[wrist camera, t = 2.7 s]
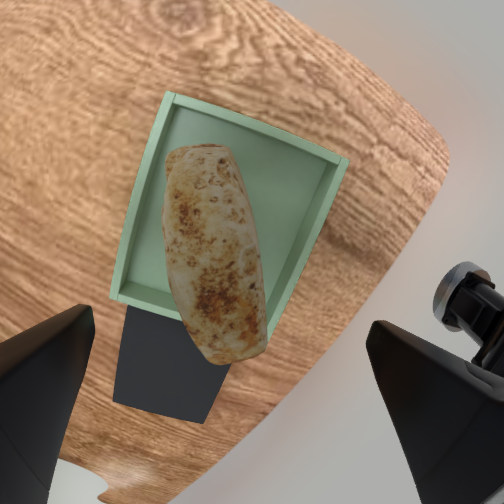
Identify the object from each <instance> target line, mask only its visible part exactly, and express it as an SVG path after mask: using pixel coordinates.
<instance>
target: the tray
mask: <svg viewBox="0 0 504 504" xmlns="http://www.w3.org/2000/svg"><path fill="white" fill-rule="evenodd" d="M208 143H213V144H222V145H225V146H227V147H229V148H230V150H231V151H232V153H233V156H234V158H235V160H236V162H237V164H238V166H239V169H240V173H241V176H242V178H243V181H244V184H245V187H246V190H247V193H248V197H249V200H250V204H251V208H252V212H253V216H254V221H255V226H256V231H257V236H258V243H259V249H260V258H261V264H262V270H263V281H264V292H265V300H266V301H265V303H266V319H267V340H268V341H269V339H270V337H271V335H272V333H273V331H274V329H275V327H276V325H277V323H278V321H279V319H280V317H281V315H282V313H283V311H284V309H285V307H286V305H287V302H288V300H289V298H290V296H291V294H292V292H293V290H294V288H295V286H296V284H297V281H298V279H299V277H300V275H301V273H302V271H303V268H304V266H305V264H306V262H307V260H308V258H309V255H310V253H311V251H312V249H313V246H314V244H315V242H316V240H317V237H318V235H319V233H320V231H321V228H322V226H323V224H324V222H325V219H326V217H327V215H328V212H329V210H330V208H331V205H332V203H333V201H334V198H335V196H336V194H337V191H338V189H339V186H340V184H341V182H342V179H343V177H344V174H345V172H346V169H347V167H348V165H349V162H350V160H349V159H347V158H345V157H342V156H340V155H338V154H336V153H334V152H332V151H330V150H328V149H325V148H323V147H321V146H319V145H316V144H314V143H312V142H310V141H307V140H305V139H303V138H300V137H298V136H296V135H293V134H291V133H289V132H286V131H284V130H281V129H279V128H276V127H274V126H271V125H269V124H266V123H264V122H261V121H258V120H256V119H253V118H250V117H248V116H245V115H242V114H239V113H237V112H234V111H231V110H228V109H225V108H222V107H219V106H216V105H213V104H210V103H207V102H204V101H201V100H197V99H194V98H191V97H188V96H184V95H181V94H176V93H174V92H171V91H166V92H165V95H164V97H163V100H162V102H161V105H160V108H159V110H158V113H157V116H156V119H155V121H154V124H153V127H152V130H151V133H150V136H149V139H148V142H147V145H146V148H145V151H144V154H143V157H142V161H141V164H140V167H139V170H138V174H137V177H136V181H135V184H134V188H133V191H132V195H131V199H130V202H129V206H128V210H127V214H126V218H125V222H124V226H123V230H122V235H121V239H120V243H119V248H118V253H117V257H116V262H115V267H114V272H113V278H112V283H111V289H110V294H109V298H110V299H113V300H116V301H119V302H122V303H125V304H128V305H131V306H134V307H137V308H140V309H144V310H147V311H150V312H153V313H157V314H160V315H163V316H167V317H170V318H174V319H177V320H180V321H182V319H181V316H180V314H179V311H178V309H177V306H176V304H175V302H174V299H173V296H172V293H171V290H170V287H169V284H168V277H167V268H166V255H165V245H164V240H163V234H162V224H161V208H162V206H163V204H164V193H165V189H166V186H167V180H166V175H165V159H166V155H167V154H168V153H169V152H171V151H173V150H175V149H177V148H180V147H183V146H188V145H196V144H208Z"/></svg>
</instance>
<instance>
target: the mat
mask: <svg viewBox="0 0 504 504" xmlns="http://www.w3.org/2000/svg"><path fill="white" fill-rule="evenodd" d="M231 364H232V363H231ZM231 364H224V365H216V364H213V363H210V362H209V361H208V360H207V359H206V358H205V357H204V355H203V354H202V353H201V351H200V350H199V349H198V348H197V346H196V345H195V343H194V341H193V340H192V338H191V336H190V334H189V333H188V331H187V329H186V327H185V325H184V323H183V321H180V320H177V319H174V318H170V317H167V316H163V315H160V314H157V313H153V312H150V311H147V310H144V309H140V308H137V307H134V306H131V305H128V307H127V312H126V317H125V322H124V328H123V333H122V339H121V345H120V351H119V357H118V364H117V371H116V378H115V386H114V394H113V402H116V403H119V404H123V405H126V406H129V407H133V408H136V409H140V410H144V411H147V412H151V413H155V414H159V415H163V416H167V417H172V418H176V419H181V420H185V421H190V422H195V423H200V424H204V421H205V419H206V417H207V415H208V413H209V411H210V409H211V407H212V404H213V402H214V400H215V398H216V396H217V394H218V392H219V390H220V387H221V385H222V383H223V381H224V379H225V377H226V374H227V372H228V370H229V368H230V366H231Z"/></svg>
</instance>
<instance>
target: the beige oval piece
mask: <svg viewBox="0 0 504 504" xmlns="http://www.w3.org/2000/svg"><path fill="white" fill-rule="evenodd" d="M165 175H166V180H167V186H166V189H165V193H164V204H163V206H162V208H161V224H162V234H163V240H164V245H165V255H166V268H167V277H168V284H169V287H170V290H171V293H172V296H173V299H174V302H175V304H176V306H177V309H178V311H179V314H180V316H181V319H182V321H183V323H184V325H185V327H186V329H187V331H188V333H189V334H190V336H191V338H192V340H193V341H194V343H195V345H196V346H197V348H198V349H199V350H200V351H201V353H202V354H203V355H204V357H205V358H206V359H207V360H208V361H209V362H210V363H213V364H216V365H224V364H231V363H237V362H241V361H244V360H247V359H251V358H253V357H255V356H258V355H259V354H261V353H262V352H264V351H265V349H266V347H267V344H268V340H267V319H266V303H265V301H266V300H265V292H264V281H263V270H262V264H261V258H260V249H259V243H258V236H257V231H256V226H255V221H254V216H253V212H252V208H251V204H250V200H249V197H248V193H247V190H246V187H245V184H244V181H243V178H242V176H241V173H240V169H239V166H238V164H237V162H236V160H235V158H234V156H233V153H232V151H231V150H230V148H229V147H227V146H225V145H222V144H213V143H208V144H196V145H188V146H183V147H180V148H177V149H175V150H173V151H171V152H169V153H168V154H167V155H166V159H165Z"/></svg>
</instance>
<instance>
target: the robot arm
mask: <svg viewBox="0 0 504 504" xmlns="http://www.w3.org/2000/svg"><path fill="white" fill-rule="evenodd" d="M494 289H495V284H494V283H492V282H490V281H488V280H487V279H485V278H483V277H481V276H479V275H477V274H475V273H474V272H472V271H468V272H467V273H466V275H465V277H464V279H463V281H462V283H461V285H460V287H459V289H458V291H457V292H456V294H455V296H454V298H453V300H452V302H451V303H450V305H449V307H448V309H447V310H446V312H445V314H444V316H443V317H442V319H441V322H442V323H443V324H445V325H448V326H452V327H455V328H459V329H463V330H464V331H465V332H466V333H467V334H468V335H469V336H470V337H471V338H472V339H473V340H474V341H475V342H476V343H477V344H478V345H479V346H480V347H481V348H480V350H479V351H478V353H477V354H476V356H475V357H473V359H472V360H471V363H470V362H468V361H465V360H464V359H462V358H460V357H458V356H456V355H454V354H452V353H450V352H448V351H446V350H444V349H442V348H440V347H438V346H436V345H434V344H432V343H430V342H428V341H426V340H424V339H422V338H420V337H417V336H416V335H414V334H412V333H410V332H407V331H406V330H403V329H402V328H399V327H398V326H395V325H394V324H391V323H390V322H388V321H384V320H377V321H374V322H373V323H372V326H371V328H370V331H369V334H368V337H367V340H366V349H367V352H368V356H369V359H370V362H371V365H372V369H373V372H374V375H375V379H376V381H377V384H378V387H379V390H380V392H381V395H382V397H383V400H384V402H385V404H386V407H387V409H388V412H389V415H390V417H391V419H392V422H393V425H394V427H395V430H396V432H397V435H398V438H399V440H400V443H401V445H402V448H403V451H404V454H405V457H406V459H407V462H408V465H409V468H410V470H411V473H412V476H413V479H414V482H415V484H416V488H417V491H418V494H419V497H420V500H421V503H422V504H504V297H503V296H502V295H501V294H499V293H497V292H496V291H495V290H494ZM94 336H95V324H94V318H93V311H92V308H91V306H90V305H84V304H78V305H76V306H74V307H72V308H69V309H67V310H65V311H63V312H61V313H59V314H57V315H55V316H53V317H51V318H49V319H47V320H45V321H43V322H41V323H39V324H37V325H35V326H33V327H31V328H29V329H27V330H25V331H23V332H21V333H19V334H17V335H15V336H14V337H12V338H10V339H8V340H6V341H4V342H2V343H0V504H47V501H48V496H49V490H50V487H51V482H52V478H53V474H54V470H55V466H56V463H57V459H58V455H59V452H60V448H61V445H62V441H63V438H64V435H65V431H66V428H67V425H68V422H69V419H70V416H71V413H72V410H73V407H74V404H75V401H76V398H77V395H78V392H79V389H80V386H81V384H82V381H83V378H84V375H85V371H86V368H87V363H88V359H89V355H90V351H91V348H92V344H93V340H94Z"/></svg>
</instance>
